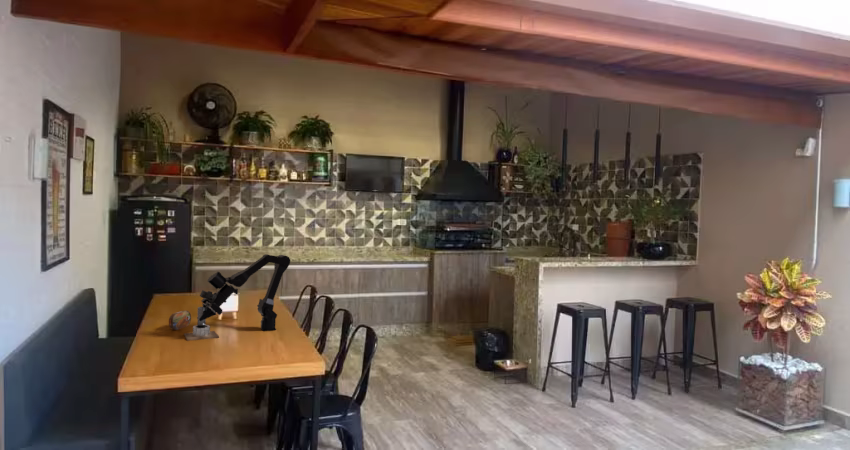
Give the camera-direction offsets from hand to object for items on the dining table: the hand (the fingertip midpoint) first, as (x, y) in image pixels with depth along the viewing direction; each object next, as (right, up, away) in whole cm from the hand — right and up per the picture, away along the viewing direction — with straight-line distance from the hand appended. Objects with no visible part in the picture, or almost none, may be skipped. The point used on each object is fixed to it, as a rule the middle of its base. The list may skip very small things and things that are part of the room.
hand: (198, 319), depth 266 cm
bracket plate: (+1, -8, +1) cm, 8 cm away
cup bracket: (+1, -8, +1) cm, 8 cm away
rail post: (+1, -7, +1) cm, 7 cm away
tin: (-17, -7, +17) cm, 25 cm away
